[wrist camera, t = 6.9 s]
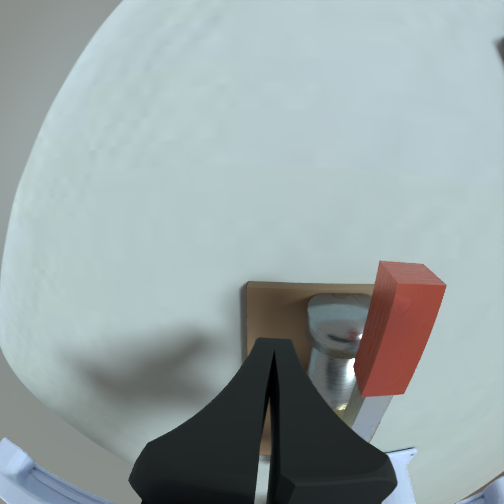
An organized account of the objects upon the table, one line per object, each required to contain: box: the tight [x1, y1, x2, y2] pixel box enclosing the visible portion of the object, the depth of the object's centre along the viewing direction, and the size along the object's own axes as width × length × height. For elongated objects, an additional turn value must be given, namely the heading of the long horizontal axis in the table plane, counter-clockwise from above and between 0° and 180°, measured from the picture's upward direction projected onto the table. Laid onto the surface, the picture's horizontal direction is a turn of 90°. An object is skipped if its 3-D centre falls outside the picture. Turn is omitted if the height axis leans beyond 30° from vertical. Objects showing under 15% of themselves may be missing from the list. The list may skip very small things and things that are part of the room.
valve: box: [305, 293, 380, 443], centre depth 16 cm, size 18×5×6 cm, turn 0°
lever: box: [342, 261, 447, 442], centre depth 10 cm, size 3×14×2 cm, turn 178°
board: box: [247, 281, 375, 456], centre depth 19 cm, size 18×11×1 cm, turn 0°
